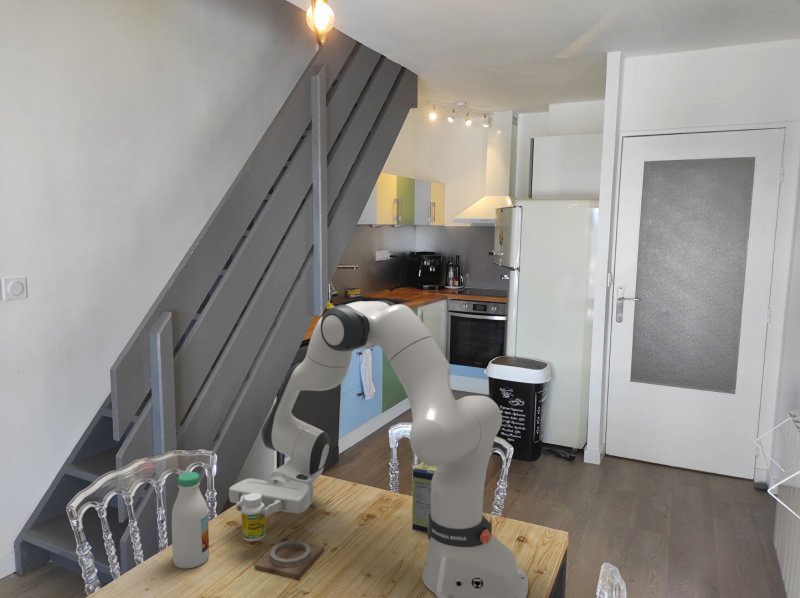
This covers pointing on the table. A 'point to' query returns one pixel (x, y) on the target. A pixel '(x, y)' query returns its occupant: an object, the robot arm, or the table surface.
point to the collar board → (290, 558)
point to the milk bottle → (189, 524)
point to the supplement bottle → (253, 518)
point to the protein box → (422, 496)
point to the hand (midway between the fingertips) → (251, 510)
